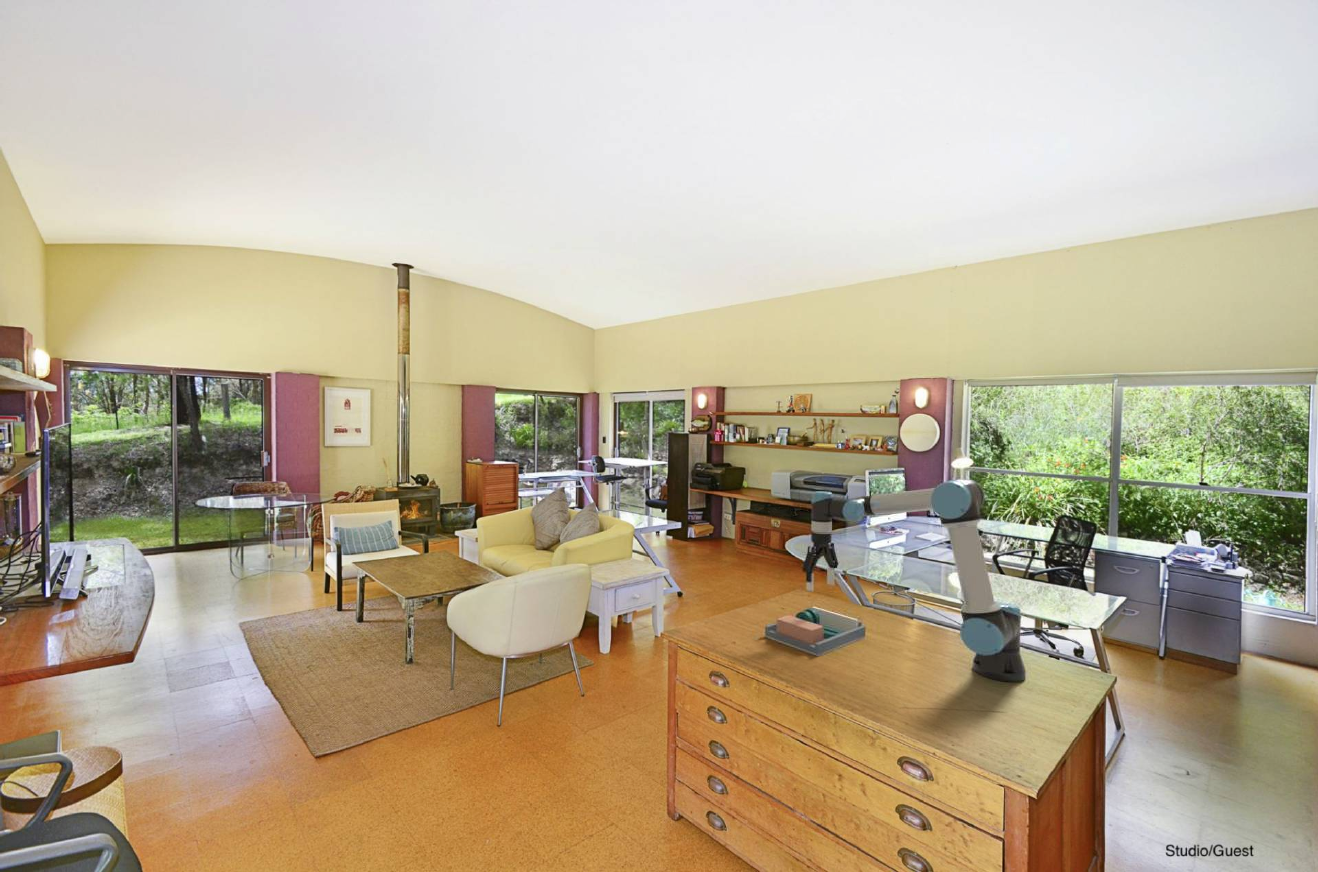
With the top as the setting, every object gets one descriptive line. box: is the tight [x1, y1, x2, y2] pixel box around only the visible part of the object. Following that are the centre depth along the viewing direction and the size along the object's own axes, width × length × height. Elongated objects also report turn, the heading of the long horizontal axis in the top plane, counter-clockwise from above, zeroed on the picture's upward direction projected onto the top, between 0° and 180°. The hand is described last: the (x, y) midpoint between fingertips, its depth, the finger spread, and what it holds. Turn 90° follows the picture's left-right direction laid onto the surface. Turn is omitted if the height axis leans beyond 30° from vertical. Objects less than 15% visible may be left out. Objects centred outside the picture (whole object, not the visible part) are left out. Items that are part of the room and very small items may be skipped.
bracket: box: [795, 607, 843, 639], centre depth 227 cm, size 18×7×8 cm, turn 46°
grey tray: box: [764, 615, 866, 657], centre depth 225 cm, size 30×24×6 cm
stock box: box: [776, 614, 824, 646], centre depth 219 cm, size 7×16×7 cm, turn 40°
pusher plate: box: [811, 606, 859, 632], centre depth 233 cm, size 1×20×6 cm, turn 40°
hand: (820, 587), depth 227 cm, fingers open, 13 cm apart
